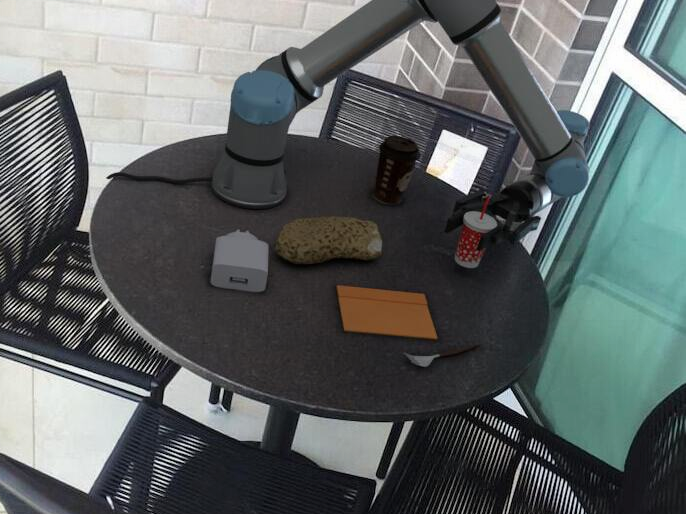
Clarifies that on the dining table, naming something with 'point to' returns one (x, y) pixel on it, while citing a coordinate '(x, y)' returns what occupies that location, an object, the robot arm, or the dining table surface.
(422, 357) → the fork
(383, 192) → the coffee cup
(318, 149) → the dining table surface
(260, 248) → the charger
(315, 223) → the sponge
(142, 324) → the dining table surface
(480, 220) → the beverage cup
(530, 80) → the robot arm
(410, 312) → the cloth
